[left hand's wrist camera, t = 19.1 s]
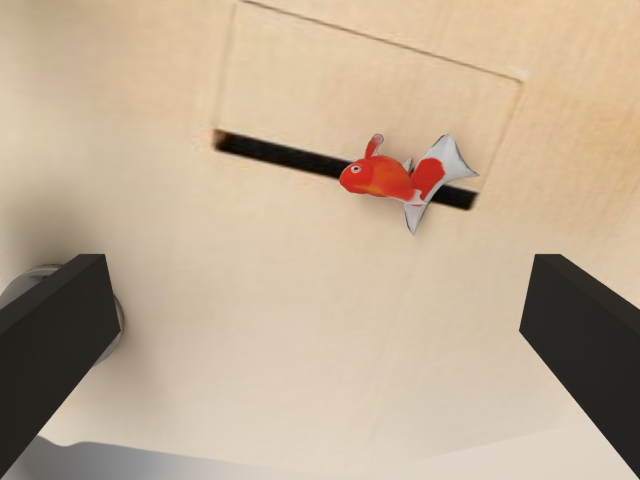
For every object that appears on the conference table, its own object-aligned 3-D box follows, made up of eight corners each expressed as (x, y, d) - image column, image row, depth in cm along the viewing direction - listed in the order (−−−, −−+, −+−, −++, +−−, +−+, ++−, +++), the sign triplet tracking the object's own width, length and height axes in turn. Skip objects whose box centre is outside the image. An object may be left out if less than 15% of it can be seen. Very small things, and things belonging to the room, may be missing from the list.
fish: (363, 85, 40) (403, 144, 33) (469, 124, 47) (518, 178, 41) (316, 170, 46) (343, 232, 40) (417, 192, 54) (452, 247, 48)
